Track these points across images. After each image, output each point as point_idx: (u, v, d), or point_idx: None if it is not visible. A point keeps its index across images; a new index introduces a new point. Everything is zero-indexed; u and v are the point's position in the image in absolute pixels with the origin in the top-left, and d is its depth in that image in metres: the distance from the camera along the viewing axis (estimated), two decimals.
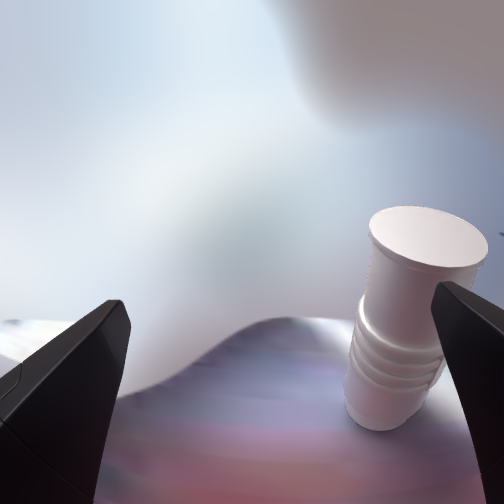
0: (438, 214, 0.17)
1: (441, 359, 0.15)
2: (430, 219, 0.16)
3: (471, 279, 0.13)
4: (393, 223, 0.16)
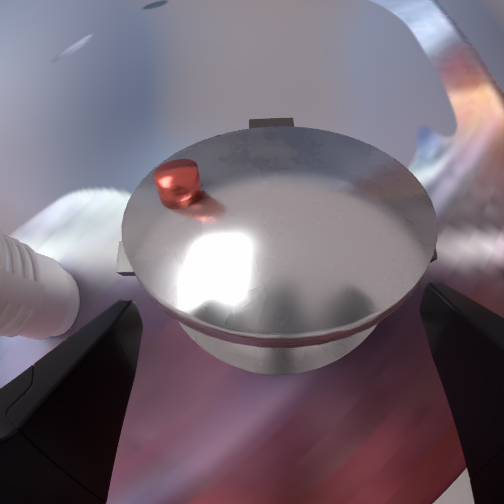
0: None
1: (9, 301, 0.15)
2: None
3: None
4: None
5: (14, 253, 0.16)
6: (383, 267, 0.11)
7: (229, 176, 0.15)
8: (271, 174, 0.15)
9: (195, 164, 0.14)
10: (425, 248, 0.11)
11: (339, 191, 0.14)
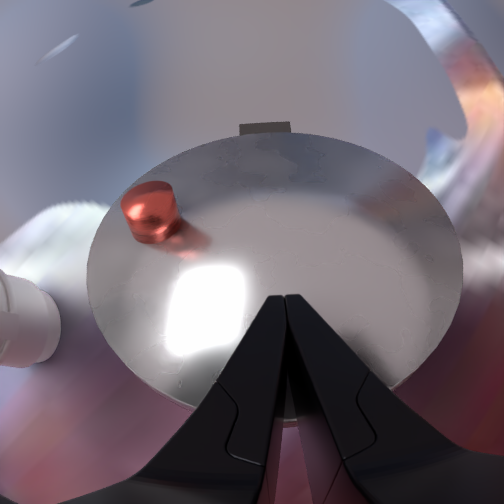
0: None
1: None
2: None
3: None
4: None
5: None
6: (401, 324, 0.08)
7: (213, 198, 0.13)
8: (264, 196, 0.13)
9: (170, 188, 0.11)
10: (450, 294, 0.09)
11: (346, 219, 0.12)
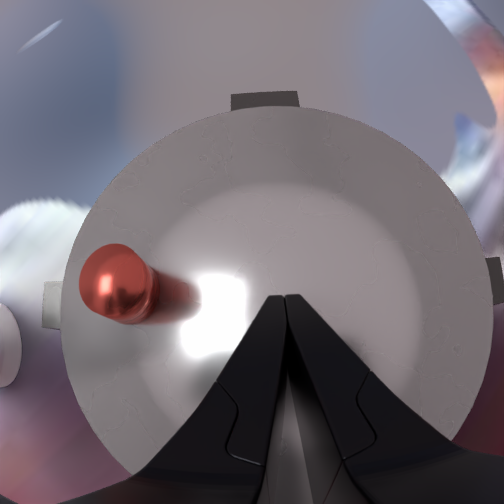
0: None
1: None
2: None
3: None
4: None
5: None
6: None
7: (199, 246, 0.10)
8: (266, 243, 0.10)
9: (138, 264, 0.08)
10: (465, 398, 0.07)
11: (372, 290, 0.09)
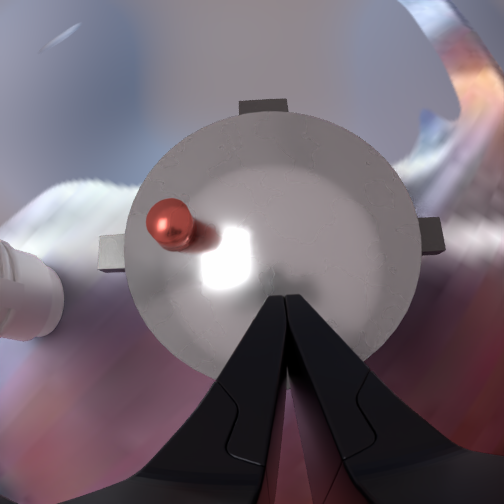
0: None
1: None
2: None
3: None
4: None
5: None
6: (359, 327, 0.13)
7: (221, 202, 0.15)
8: (264, 200, 0.15)
9: (186, 210, 0.14)
10: (401, 303, 0.13)
11: (331, 228, 0.14)
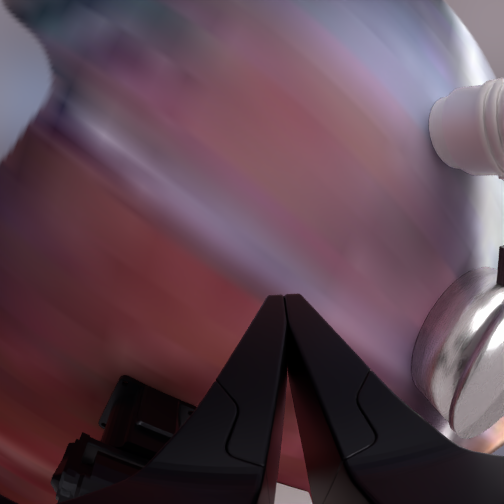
0: None
1: None
2: None
3: None
4: None
5: None
6: (468, 424, 0.19)
7: None
8: None
9: None
10: (468, 435, 0.19)
11: (502, 393, 0.19)
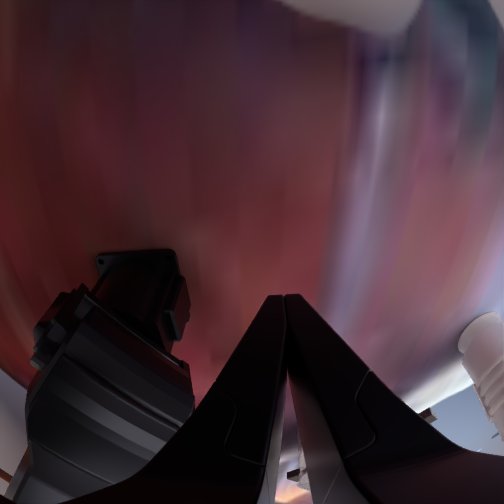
0: None
1: (486, 408, 0.20)
2: None
3: None
4: None
5: None
6: None
7: None
8: None
9: None
10: (302, 483, 0.29)
11: None
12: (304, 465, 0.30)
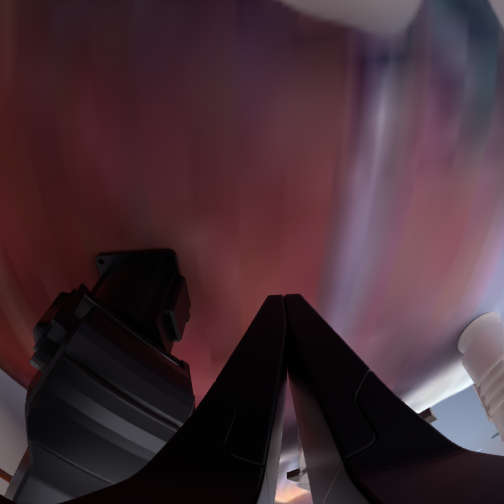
0: None
1: (486, 408, 0.20)
2: None
3: None
4: None
5: None
6: None
7: None
8: None
9: None
10: (302, 483, 0.29)
11: None
12: (304, 465, 0.30)
